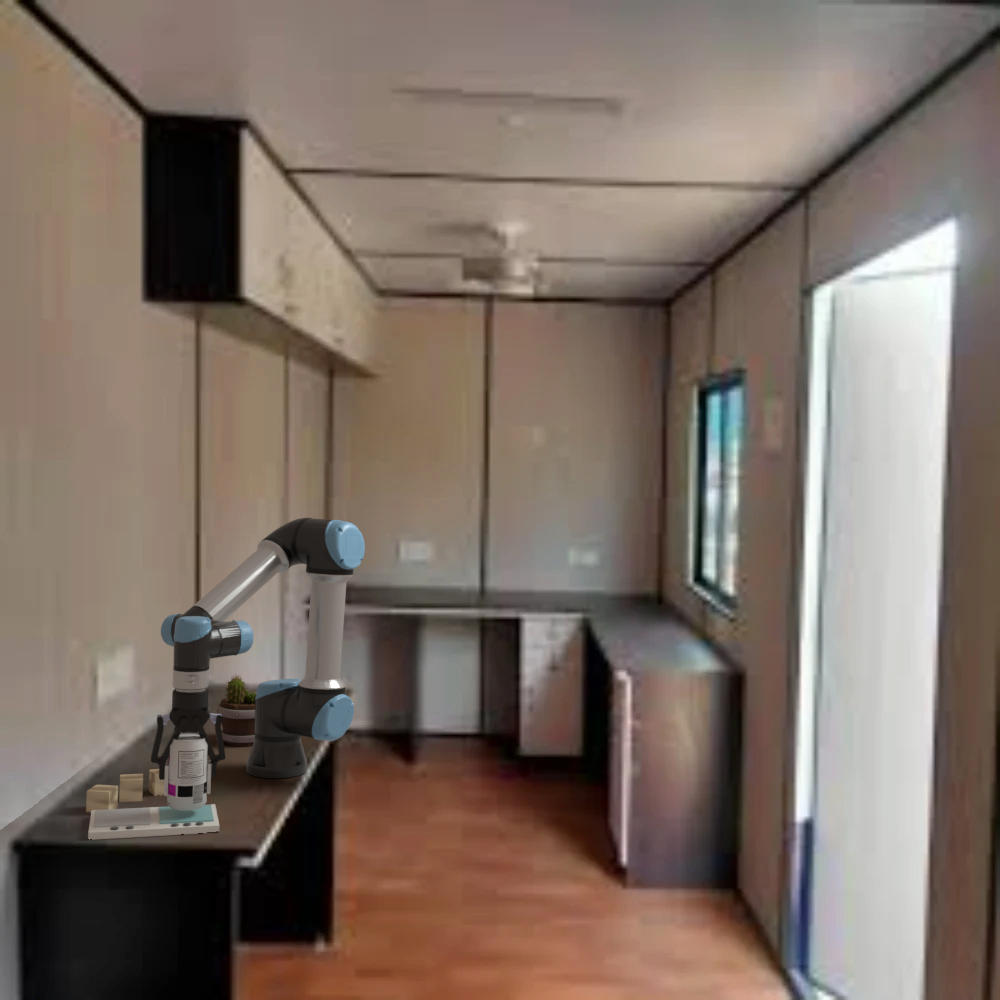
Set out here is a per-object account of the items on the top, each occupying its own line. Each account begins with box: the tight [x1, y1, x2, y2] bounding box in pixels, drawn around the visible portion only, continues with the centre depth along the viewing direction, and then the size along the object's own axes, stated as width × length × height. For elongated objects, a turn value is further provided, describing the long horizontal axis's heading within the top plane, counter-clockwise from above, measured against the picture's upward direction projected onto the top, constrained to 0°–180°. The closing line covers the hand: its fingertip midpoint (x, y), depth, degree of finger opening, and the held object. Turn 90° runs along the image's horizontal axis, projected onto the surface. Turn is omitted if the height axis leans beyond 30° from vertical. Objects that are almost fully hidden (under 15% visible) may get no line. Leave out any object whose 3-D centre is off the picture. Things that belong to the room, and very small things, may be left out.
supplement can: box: [166, 732, 209, 811], centre depth 242 cm, size 8×8×15 cm
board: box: [87, 803, 220, 841], centre depth 239 cm, size 15×26×2 cm, turn 108°
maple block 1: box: [85, 784, 119, 813], centre depth 247 cm, size 5×5×5 cm
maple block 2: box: [118, 773, 144, 803], centre depth 256 cm, size 5×5×5 cm
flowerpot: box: [216, 674, 256, 747], centre depth 311 cm, size 14×15×20 cm
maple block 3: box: [148, 768, 164, 797], centre depth 262 cm, size 5×5×5 cm
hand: (187, 793), depth 242 cm, fingers closed on supplement can, 8 cm apart
